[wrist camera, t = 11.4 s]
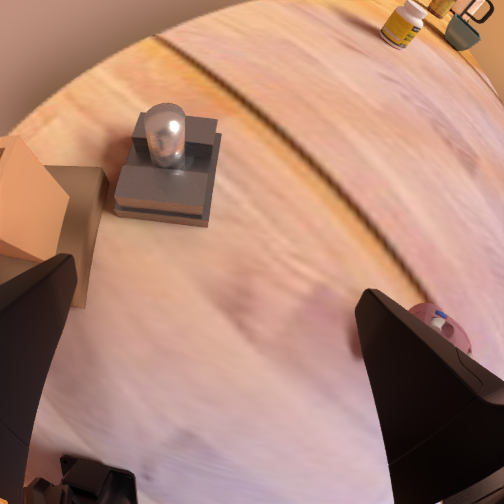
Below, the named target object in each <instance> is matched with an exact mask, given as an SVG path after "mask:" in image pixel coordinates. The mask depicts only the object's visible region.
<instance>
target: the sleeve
mask: <svg viewBox="0 0 504 504" xmlns="http://www.w3.org/2000/svg"><path fill="white" fill-rule="evenodd" d="M68 201H69V195H68V194H67V193H66V192H65V191H64V190H63V189H62V187H61V186H60V185H59V184H58V183H57V182H56V180H55V179H54V178H53V177H52V176H51V174H50V173H49V172H48V171H47V170H46V168H45V167H44V166H43V165H42V163H41V162H40V161H39V160H38V158H37V157H36V156H35V155H34V153H33V152H32V151H31V150H30V148H29V147H28V146H27V144H26V143H25V142H24V140H23V139H22V138H21V136H20V135H19V136H6V137H0V254H2V255H5V256H9V257H14V258H19V259H24V260H29V261H35V262H40V263H42V262H43V261H45V260H47V259H49V258H51V257H53V256H55V255H56V250H57V245H58V240H59V236H60V232H61V227H62V223H63V219H64V215H65V212H66V208H67V204H68Z"/></svg>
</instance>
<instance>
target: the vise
mask: <svg viewBox="0 0 504 504" xmlns="http://www.w3.org/2000/svg"><path fill="white" fill-rule="evenodd" d="M217 121H218V120H217V119H209V118H201V117H192V116H185V113H184V111H183V110H182V108H181V107H179V106H178V105H175V104H172V103H162V104H158V105H156V106H154V107H152V108H151V109H149V110H148V111H147V113H142V112H141V113H140V115H139V118H138V121H137V123H136V126H135V129H134V132H133V135H132V140H133V143H132V146H131V149H130V152H129V155H128V159H127V162H126V165H123V166H122V169H121V173H120V176H119V180H118V183H117V187H116V191H115V195H114V198H115V199H116V202H115V206H114V211H115V213H116V214H117V215H118V217H124V218H133V219H141V220H150V221H159V222H167V223H176V224H184V225H192V226H200V227H208V222H209V214H210V207H211V200H212V193H213V186H214V179H215V172H216V166H217V160H218V153H219V147H220V141H221V135H222V134H220V133H216V127H217Z"/></svg>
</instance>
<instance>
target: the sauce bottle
mask: <svg viewBox="0 0 504 504" xmlns="http://www.w3.org/2000/svg"><path fill="white" fill-rule="evenodd" d="M456 1H457V0H432V1H431V3H430V4H429V6H428V10H429V11H430V12H431V13H433V14H434V15H435V16H436V17H438V18H440V19H442V18H443V17H444V16H445V15H446V14H447V12H448V11H449V10H450V9H451V8H452V6H453V5H454V4H455V3H456Z"/></svg>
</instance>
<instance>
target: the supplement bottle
mask: <svg viewBox="0 0 504 504" xmlns="http://www.w3.org/2000/svg"><path fill="white" fill-rule="evenodd" d="M427 14H428V13H427V12H426V11H425V10H424V9H423V8H422V7H421V6H419V5H418V4H416V3H415V2H413V1H411V0H407V1H406V2H405V4H404V7H402V6H398V7H397V8H396V9H395V10H394V12H393V13H392V14H391V16H390V17H389V19H388V20H387V22H386V23H385V24H384V26H383V27H382V29H381V30H380V35H381V37H382V38H383V39H384V40H385V41H386V42H387V43H389V44H390V45H391V46H393V47H395V48H397V49H400V50H403V49H405V48H406V47H407V45H408V44H409V43H410V42H411V41H412V39H413V38H414V37H415V36H416V35H417V33H418V32H419V31H420V29H421V28H422V27H423V22H422V20H421V19H424V18H425V17H426V15H427Z"/></svg>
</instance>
